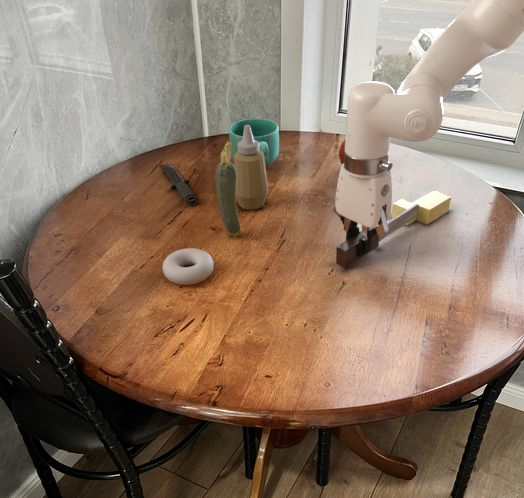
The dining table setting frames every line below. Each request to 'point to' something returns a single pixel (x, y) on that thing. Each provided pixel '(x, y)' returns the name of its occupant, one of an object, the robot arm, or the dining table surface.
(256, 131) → the mug
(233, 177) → the vegetable
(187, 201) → the knife
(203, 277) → the donut
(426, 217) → the butter
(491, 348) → the dining table surface
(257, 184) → the squeeze bottle
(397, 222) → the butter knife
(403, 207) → the butter slice
